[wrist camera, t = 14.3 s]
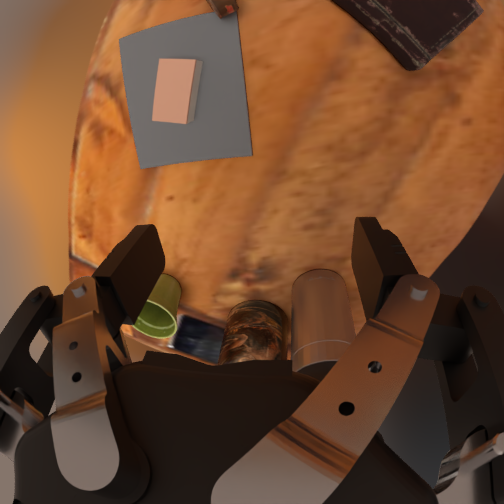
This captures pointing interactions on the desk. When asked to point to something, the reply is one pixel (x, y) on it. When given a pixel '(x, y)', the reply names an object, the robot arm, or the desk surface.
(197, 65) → the block
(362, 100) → the desk surface
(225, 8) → the tin
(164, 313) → the plant pot
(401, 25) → the diary
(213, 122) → the mat
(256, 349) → the jar
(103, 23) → the desk surface
